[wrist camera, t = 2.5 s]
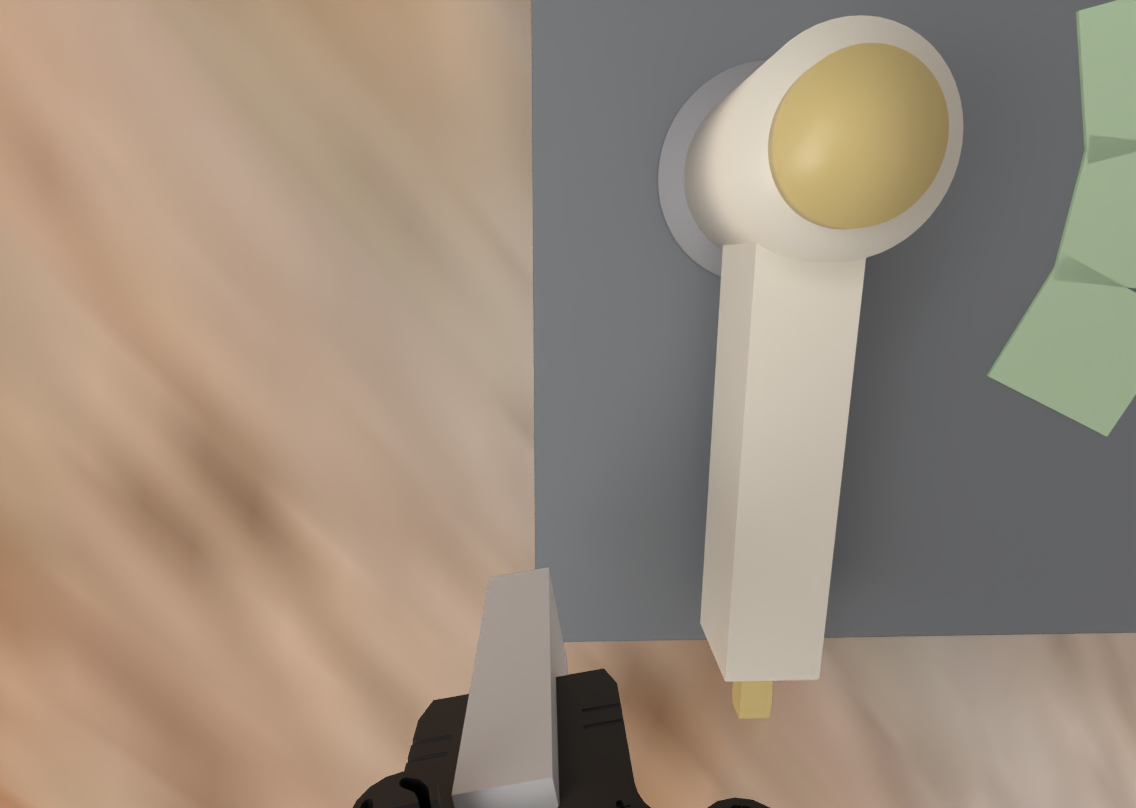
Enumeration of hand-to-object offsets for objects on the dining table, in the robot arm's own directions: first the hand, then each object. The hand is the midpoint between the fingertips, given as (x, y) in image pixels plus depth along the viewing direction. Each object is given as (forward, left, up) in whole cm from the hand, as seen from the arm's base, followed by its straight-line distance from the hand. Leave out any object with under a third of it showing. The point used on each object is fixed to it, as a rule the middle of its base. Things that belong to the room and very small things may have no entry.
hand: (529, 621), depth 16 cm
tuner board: (-7, +13, -7) cm, 17 cm away
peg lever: (-4, +7, -5) cm, 10 cm away
